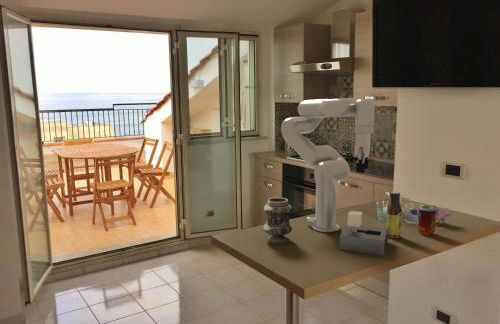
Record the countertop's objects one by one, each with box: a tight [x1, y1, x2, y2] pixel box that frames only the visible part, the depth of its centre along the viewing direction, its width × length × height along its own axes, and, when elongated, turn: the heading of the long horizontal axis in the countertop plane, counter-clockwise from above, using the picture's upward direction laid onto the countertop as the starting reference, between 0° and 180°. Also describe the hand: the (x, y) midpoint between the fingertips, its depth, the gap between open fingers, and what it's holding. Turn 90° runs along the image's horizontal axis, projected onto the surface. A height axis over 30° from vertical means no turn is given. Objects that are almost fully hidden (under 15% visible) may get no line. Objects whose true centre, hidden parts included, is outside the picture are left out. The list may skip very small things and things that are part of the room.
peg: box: [346, 210, 363, 232], centre depth 178 cm, size 5×5×14 cm
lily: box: [431, 204, 456, 228], centre depth 205 cm, size 12×12×10 cm
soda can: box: [417, 205, 436, 237], centre depth 191 cm, size 7×7×12 cm
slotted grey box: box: [339, 224, 389, 256], centre depth 177 cm, size 17×16×6 cm
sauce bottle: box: [385, 191, 403, 240], centre depth 187 cm, size 7×6×20 cm
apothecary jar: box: [263, 197, 293, 245], centre depth 183 cm, size 12×12×18 cm
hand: (362, 170), depth 179 cm, fingers open, 9 cm apart
